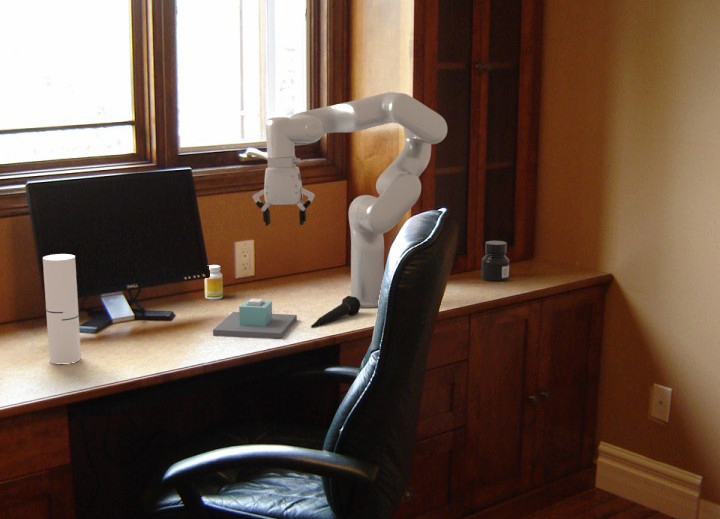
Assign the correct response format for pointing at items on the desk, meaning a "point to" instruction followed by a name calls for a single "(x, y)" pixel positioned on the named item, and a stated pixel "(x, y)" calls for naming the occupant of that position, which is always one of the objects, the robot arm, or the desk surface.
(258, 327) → the post board
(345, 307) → the microphone
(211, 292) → the supplement bottle
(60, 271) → the cylindrical container
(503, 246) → the ink bottle
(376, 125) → the robot arm
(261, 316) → the teal hollow cube
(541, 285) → the desk surface
